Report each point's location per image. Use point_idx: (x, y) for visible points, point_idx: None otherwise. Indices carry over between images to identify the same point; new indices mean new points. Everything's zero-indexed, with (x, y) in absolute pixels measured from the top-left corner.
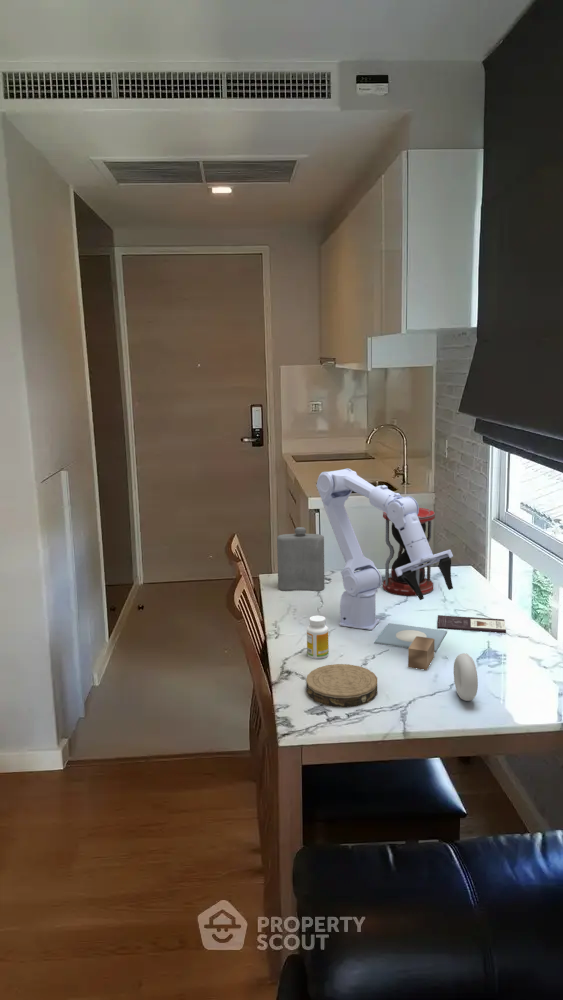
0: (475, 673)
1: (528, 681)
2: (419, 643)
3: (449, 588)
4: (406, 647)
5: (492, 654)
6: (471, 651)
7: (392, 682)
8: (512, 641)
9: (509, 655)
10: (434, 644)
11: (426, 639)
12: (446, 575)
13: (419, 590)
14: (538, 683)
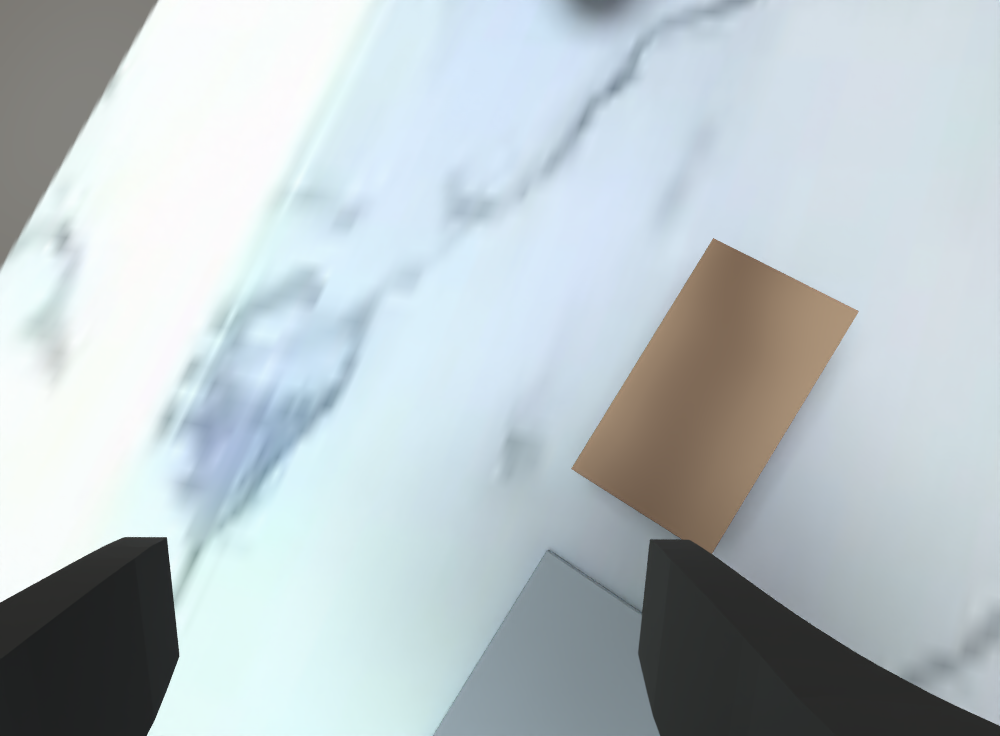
0: None
1: (217, 92)
2: (730, 394)
3: (164, 591)
4: None
5: (223, 443)
6: (318, 513)
7: (995, 139)
8: None
9: (143, 410)
10: (517, 660)
11: (643, 466)
12: (3, 667)
13: (734, 596)
14: (186, 68)
